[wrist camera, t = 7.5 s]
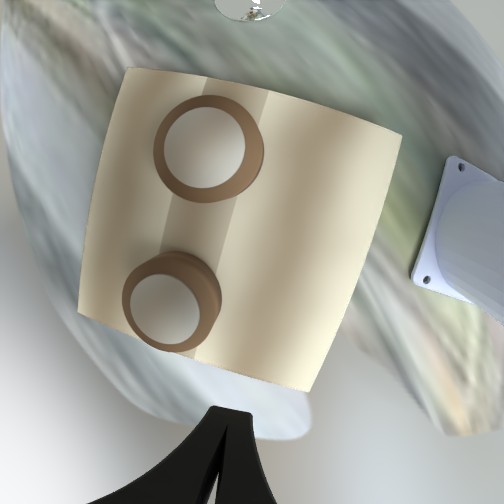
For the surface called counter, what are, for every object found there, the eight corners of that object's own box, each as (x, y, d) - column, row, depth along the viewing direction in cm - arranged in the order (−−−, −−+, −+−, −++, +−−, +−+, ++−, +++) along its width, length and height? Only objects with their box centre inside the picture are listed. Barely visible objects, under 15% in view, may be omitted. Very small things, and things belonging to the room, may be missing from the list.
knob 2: (241, 253, 18) (224, 280, 13) (221, 322, 18) (200, 368, 14) (167, 230, 18) (126, 248, 13) (153, 299, 19) (114, 335, 14)
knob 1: (277, 129, 16) (274, 107, 11) (254, 207, 17) (242, 217, 12) (200, 111, 16) (168, 85, 11) (178, 186, 17) (138, 187, 12)
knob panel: (383, 142, 16) (402, 135, 13) (306, 364, 19) (308, 392, 16) (149, 82, 16) (127, 67, 13) (102, 296, 19) (77, 312, 16)
